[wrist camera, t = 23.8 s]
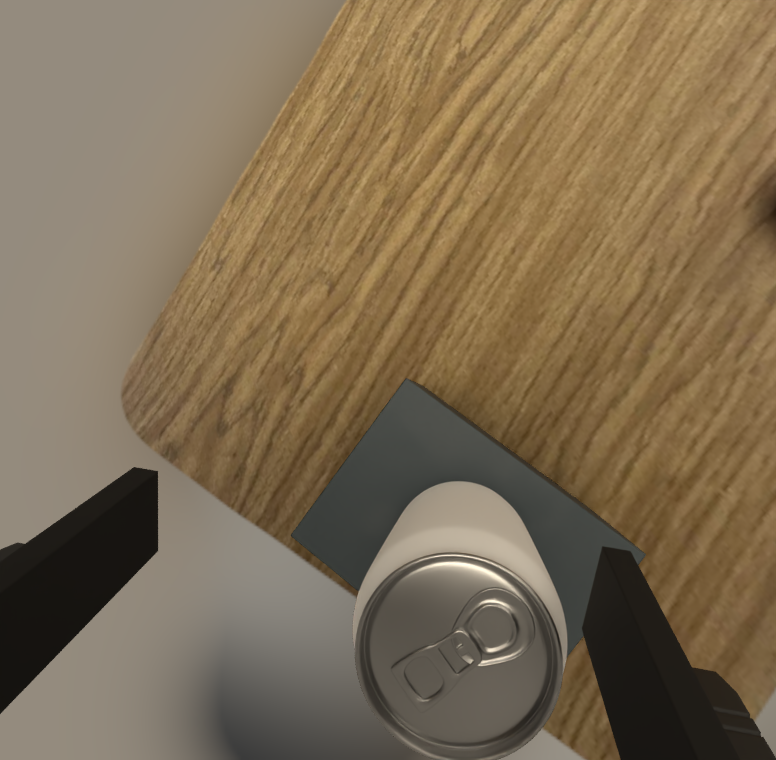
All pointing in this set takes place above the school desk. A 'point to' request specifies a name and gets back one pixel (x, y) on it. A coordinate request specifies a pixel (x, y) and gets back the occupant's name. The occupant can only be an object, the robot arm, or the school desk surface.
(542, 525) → the shelf
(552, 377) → the school desk surface
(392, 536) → the can
